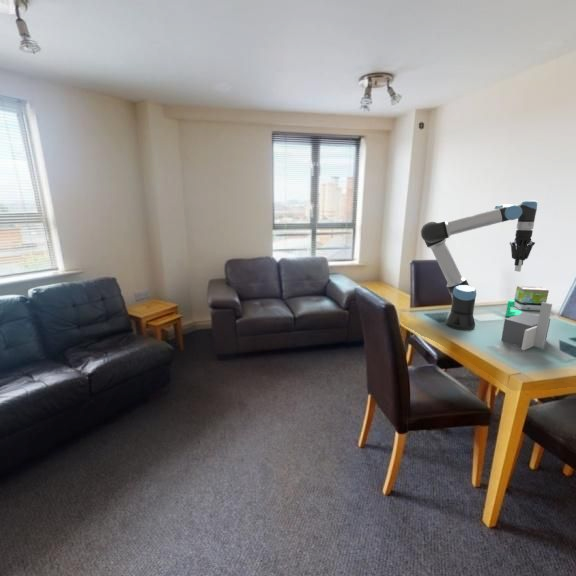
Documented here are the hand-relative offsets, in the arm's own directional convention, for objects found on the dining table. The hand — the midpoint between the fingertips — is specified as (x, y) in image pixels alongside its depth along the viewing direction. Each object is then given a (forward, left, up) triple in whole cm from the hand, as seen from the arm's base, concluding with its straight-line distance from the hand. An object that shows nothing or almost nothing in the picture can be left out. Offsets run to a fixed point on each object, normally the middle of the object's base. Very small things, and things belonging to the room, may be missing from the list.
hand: (517, 271), depth 183 cm
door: (-14, -37, -31) cm, 50 cm away
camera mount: (+13, +15, -33) cm, 38 cm away
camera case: (-8, -24, -32) cm, 41 cm away
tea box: (+34, +30, -33) cm, 56 cm away
